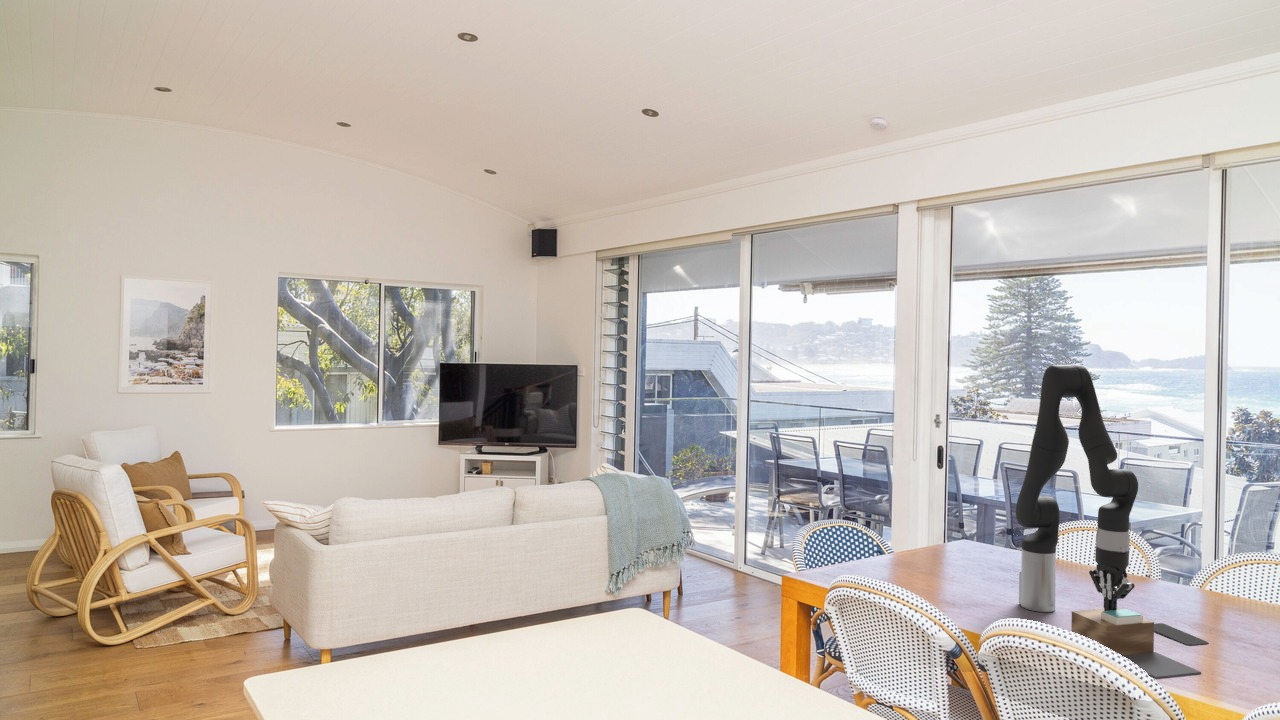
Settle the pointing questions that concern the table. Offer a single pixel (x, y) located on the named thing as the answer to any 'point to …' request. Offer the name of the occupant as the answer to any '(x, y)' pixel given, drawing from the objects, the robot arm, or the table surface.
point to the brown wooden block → (1114, 632)
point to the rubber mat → (1160, 665)
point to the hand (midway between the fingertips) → (1110, 612)
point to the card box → (1122, 617)
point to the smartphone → (1177, 635)
